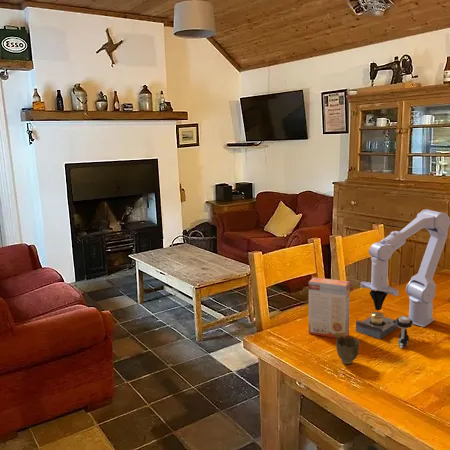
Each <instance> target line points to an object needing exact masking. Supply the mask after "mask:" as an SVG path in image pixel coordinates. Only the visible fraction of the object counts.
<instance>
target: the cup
mask: <svg viewBox="0 0 450 450" xmlns="http://www.w3.org/2000/svg"><path fill="white" fill-rule="evenodd" d="M360 343H361V342H360V340H359V339H358V338H357V337H356V338H355V337H353V336H352V337H351V336H350V335H348V336H345V338H344V337H343V336H340V338H339V337H338V338H336V339H335V344H336V352H337V355H338V357H339V358H340V361H341V363H342V364H343V365H345V366H351V365H352V364H353V363H354V361H355V360H356V359H357V357H358V355H359V350H360V349H359V348H360Z"/></svg>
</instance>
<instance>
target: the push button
mask: <svg viewBox="0 0 450 450" xmlns="http://www.w3.org/2000/svg"><path fill="white" fill-rule="evenodd" d="M395 320H396V322H397V325H398V326H399V328H400V332H399V334H398V347H399V348H400V349H402V348H405V347H406V346H409V342H410V341H409V337H410V336H409V334H408V329H409V328H411V327H412V325H413V324H412V323H413V321H412V320H410V318H409V316H405V315H401V316H399V317H397V318H396V319H395Z"/></svg>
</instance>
